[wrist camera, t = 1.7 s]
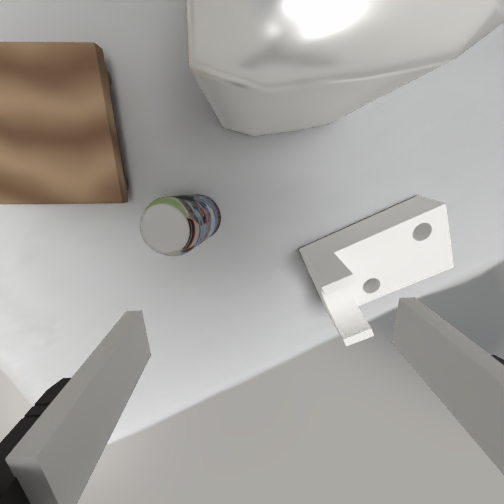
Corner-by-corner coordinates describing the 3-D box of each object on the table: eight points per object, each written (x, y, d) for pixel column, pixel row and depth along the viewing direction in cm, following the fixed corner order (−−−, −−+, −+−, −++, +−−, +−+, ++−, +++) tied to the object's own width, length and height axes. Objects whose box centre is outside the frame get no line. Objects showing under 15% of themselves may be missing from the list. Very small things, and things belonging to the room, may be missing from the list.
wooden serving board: (-28, 58, 28) (-70, 41, 24) (114, 59, 29) (94, 42, 25) (17, 200, 33) (-12, 204, 30) (136, 199, 34) (122, 203, 30)
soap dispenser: (350, 106, 31) (568, -19, 10) (258, 178, 33) (281, 196, 12) (281, -22, 27) (409, -697, 6) (182, 71, 29) (26, -167, 8)
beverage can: (213, 242, 36) (199, 276, 25) (164, 224, 35) (125, 251, 24) (228, 201, 34) (219, 218, 23) (176, 181, 33) (141, 189, 22)
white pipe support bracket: (319, 297, 40) (346, 346, 31) (298, 248, 36) (321, 287, 27) (428, 252, 38) (492, 289, 29) (418, 195, 34) (489, 216, 25)
